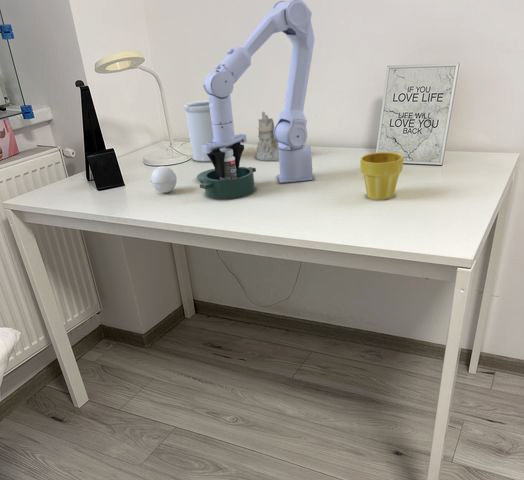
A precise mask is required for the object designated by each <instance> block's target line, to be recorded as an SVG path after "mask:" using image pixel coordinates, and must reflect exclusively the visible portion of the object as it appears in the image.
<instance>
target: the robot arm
mask: <svg viewBox="0 0 524 480" xmlns="http://www.w3.org/2000/svg"><path fill="white" fill-rule="evenodd" d="M312 13H313V12H312V11H311V8H309V7H308V5H307V4H306V2H305V1H304V0H279V1H277V2H276V3H275V4H274V5H273V6H272V8H270V9H269V10H268V11H267V12H266V13H265V15H264V17H263V18H262V19H261V20H260V22H259V23H258V25H257V26H256V27H255V29H253V31H252V32H251V34H250V35H248V37H247V38H246V40H245V41H244V43H242V45H241V46H234V47H233V48H229V49H228V50H227V51H226V53H227V55H226V56H225V57H224V59H222V61H221V62H220V63H219V64H216V65H215V66H214V69H215V71H210V72H209V73H208V74H207V75H206V76H205V78H204V80H205V81H204V84H203V89H204V91H205V93H206V94H207V95H208V100H209V106H210V114H211V122H212V130H213V138H214V139H213V141H211V142H209V143H207V144H205V145H202V152H203V153H206V154H207V156H208V157H209V158H210V160H211V161H210V162H211V164H212V166H213V167H214V168H213V169H215V170H216V173H217V175H218V177H221V178H224V177H225V171H224V158H225V152H221V150H220V149H222V148H230V149H233V156H234V157H235V163H236V172H237V173H238V170H239V167H240V163H241V158H242V155H243V152H244V150H245V145H244V143H247V141H248V140H247V134H245V133H244V134H243V133H239V134H236V135H235V126H234V116H233V107H232V98H231V95H232V93H233V92H234V91H233V90H234V85H235V84H236V82H237V81H238V80H239V79H240V78H241V77H242V76H243V75H244V73H245V72H246V71H248V69H249V68H250V67H251V65H252V56H253V55H254V54H255V53H256V52H257V51H258V50H259V49H260V48H261V47H262V46H263V45H264V44H265V43H266V42H267V41H268V40H269V39H270V37H271V36H272V35H274V34H276V33H281V32H282V33H283V34H285V35H286V37H287V38H288V40H289V41H290V43H291V45H292V49H291V56H290V63H289V70H288V78H287V83H286V91H285V92H286V93H285V98H284V105H283V109H282V110H281V111H280V113H279V115H278V119H277V122H276V124H274V137H275V139H276V140H277V141H278V151H279V160H278V165H279V173H278V174H277V178H278V182H279V183H280V184H285V183H295V182H305V181H306V182H307V181H313V180H314V179H313V178H314V177H313V155H312V148H311V145H305V144H306V142H307V140H308V131H307V122H308V121H307V118H306V116H305V113H304V109H305V102H306V96H307V90H308V83H309V77H310V71H311V63H312V57H313V51H314V45H315V34H314V33H315V32H314V30H313V24H312ZM242 143H243V144H242Z"/></svg>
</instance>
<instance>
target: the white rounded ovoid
mask: <svg viewBox="0 0 524 480" xmlns="http://www.w3.org/2000/svg"><path fill="white" fill-rule="evenodd" d="M177 179H178V178H177V174H176V173H175V172H174V170H173V169H172V168H171V167H169V166H165V165H162V166H158V167H156V168H154V170H153V171H152V173H151V176H150V183H151V185H152V187H153V188H154V189H155V190H156V191H157V192H159V193H161V194H167V193H170V192H172V191H173V190H174V189H175V188H176V185H177V181H178V180H177Z"/></svg>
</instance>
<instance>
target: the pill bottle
mask: <svg viewBox="0 0 524 480" xmlns="http://www.w3.org/2000/svg"><path fill="white" fill-rule="evenodd" d="M220 150H221V152H225V158H224V171H225V177H224V178H221V177H220V180H227V179H235V178H237V172H236V163H235V157H234V156H233V149H230V148H226V149H220Z"/></svg>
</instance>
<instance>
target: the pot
mask: <svg viewBox="0 0 524 480" xmlns="http://www.w3.org/2000/svg"><path fill="white" fill-rule="evenodd" d="M213 169H214V170H211V169H210V170H211V171H209V172H207V173H205V174H204V175H203V177H204V182H203V183H199V188H200V189H203V190H204V191H205V196H206V197H207V198H208V199H212V200H219V201H220V200H221V201H226V200H236V199H241V198H245V197H248V196H250V195H252V194H253V193H254V192H255V191H256V190H255V188H256V187H255V177H254V176H255V175H254V173H256V172H257V169H256V167H251V166H249V167H246V166H239V170H238V173H237V178H235V179H227V180H220V177H218V175H217V173H216V170H215V168H213Z"/></svg>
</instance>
